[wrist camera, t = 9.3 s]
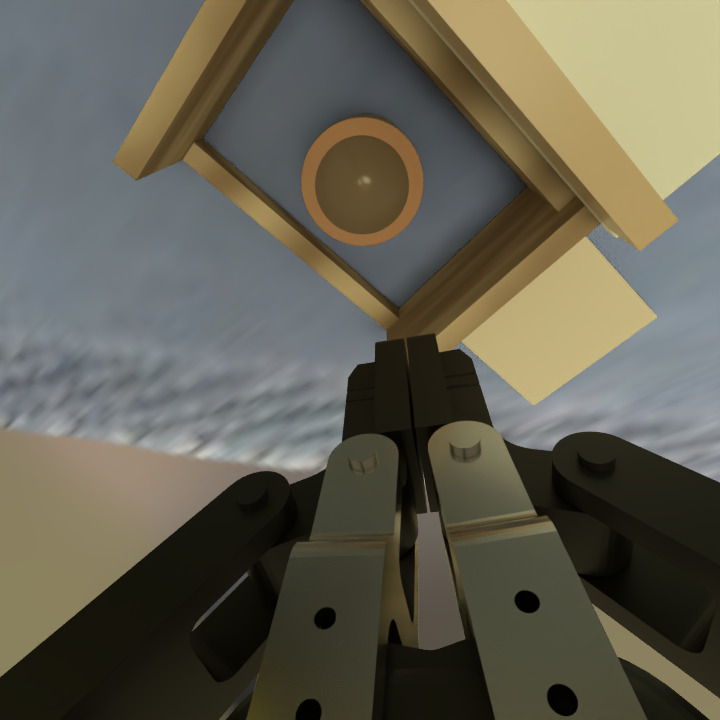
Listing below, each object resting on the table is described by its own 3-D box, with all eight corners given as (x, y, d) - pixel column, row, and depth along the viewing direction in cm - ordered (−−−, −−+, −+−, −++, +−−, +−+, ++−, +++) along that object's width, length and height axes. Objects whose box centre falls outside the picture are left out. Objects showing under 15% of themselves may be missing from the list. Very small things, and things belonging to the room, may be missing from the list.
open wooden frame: (174, 140, 28) (112, 162, 22) (572, -495, 17) (688, -840, 10) (399, 330, 34) (402, 391, 28) (806, -47, 23) (972, -92, 16)
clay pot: (298, 166, 29) (275, 192, 23) (363, 83, 26) (356, 87, 20) (369, 231, 31) (366, 271, 25) (436, 159, 28) (450, 183, 22)
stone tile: (439, 317, 33) (441, 323, 33) (560, 208, 29) (565, 213, 28) (530, 397, 37) (533, 405, 36) (650, 310, 32) (657, 317, 32)
